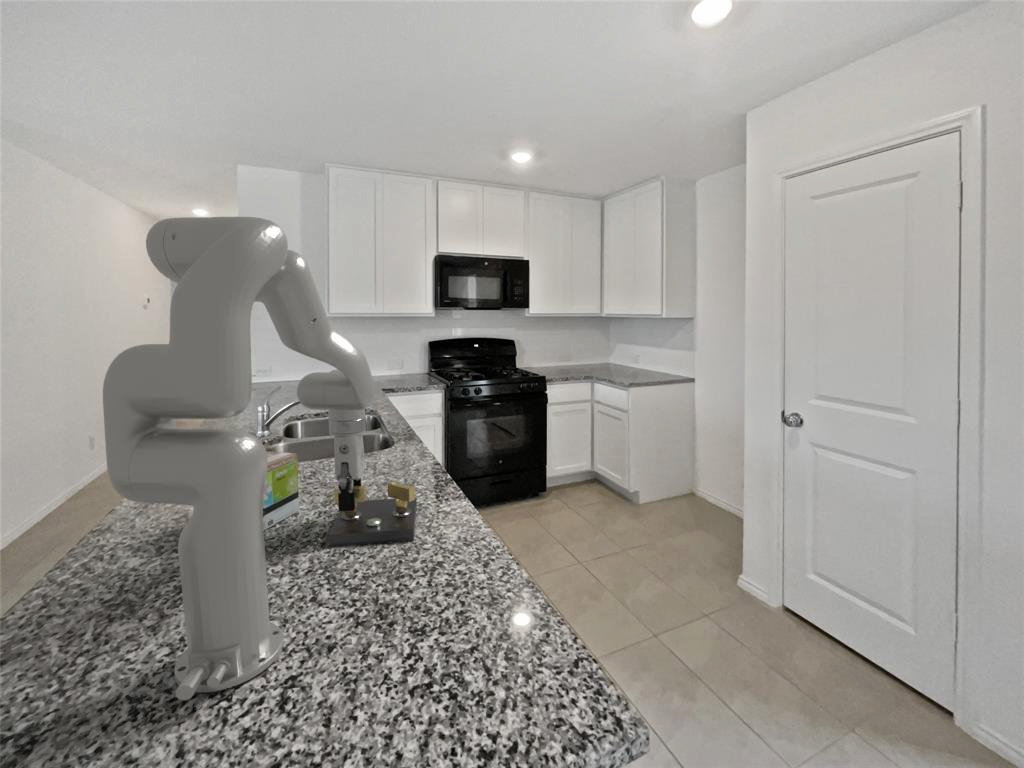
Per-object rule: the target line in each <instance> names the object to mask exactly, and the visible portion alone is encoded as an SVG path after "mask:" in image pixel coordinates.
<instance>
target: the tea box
mask: <svg viewBox="0 0 1024 768" xmlns="http://www.w3.org/2000/svg"><path fill="white" fill-rule="evenodd" d="M266 452H267V457H268V465H267V474H266V480H265V487H264V496H263V530H264V531H266V530H268V529H269V528H271V527H273V526H274V525H276V524H278V523H280V522H282V521H284V520H286V519H287V518H288V517H291V516H293V515H294V514H297V513H298V512H299V511H300V500H299V499H300V498H299V472H298V471H299V470H298V456H297V455H298V454H297V453H291V452H280V451H279V452H278V451H270V450H269V451H267V450H266Z"/></svg>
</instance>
